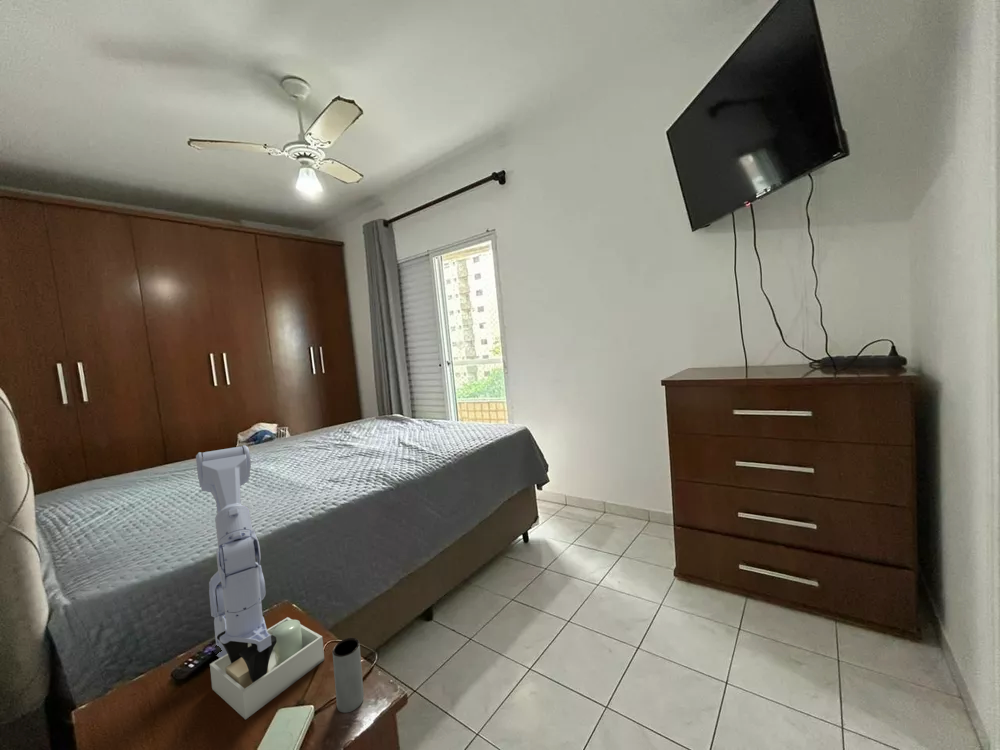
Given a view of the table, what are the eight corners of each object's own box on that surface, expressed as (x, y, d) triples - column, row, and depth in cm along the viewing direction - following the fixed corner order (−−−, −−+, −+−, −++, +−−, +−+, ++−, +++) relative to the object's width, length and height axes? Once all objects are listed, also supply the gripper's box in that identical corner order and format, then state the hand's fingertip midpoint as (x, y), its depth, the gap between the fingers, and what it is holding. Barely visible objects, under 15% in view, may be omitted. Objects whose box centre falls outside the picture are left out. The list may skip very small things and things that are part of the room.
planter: (354, 714, 67) (350, 657, 66) (331, 711, 68) (326, 655, 67) (368, 692, 71) (364, 638, 71) (346, 689, 72) (342, 636, 72)
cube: (256, 673, 77) (254, 649, 76) (269, 683, 74) (267, 658, 74) (227, 692, 72) (225, 667, 72) (240, 704, 70) (238, 677, 69)
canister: (290, 648, 83) (287, 617, 82) (309, 653, 81) (305, 621, 80) (270, 667, 78) (266, 635, 77) (289, 672, 76) (285, 639, 76)
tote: (212, 689, 74) (209, 664, 74) (289, 638, 87) (287, 617, 86) (245, 719, 67) (242, 692, 67) (324, 659, 80) (322, 636, 80)
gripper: (201, 603, 73) (208, 672, 74) (238, 628, 65) (245, 705, 66) (242, 584, 79) (248, 648, 80) (280, 604, 71) (286, 675, 72)
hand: (249, 672), depth 73 cm, fingers open, 7 cm apart
